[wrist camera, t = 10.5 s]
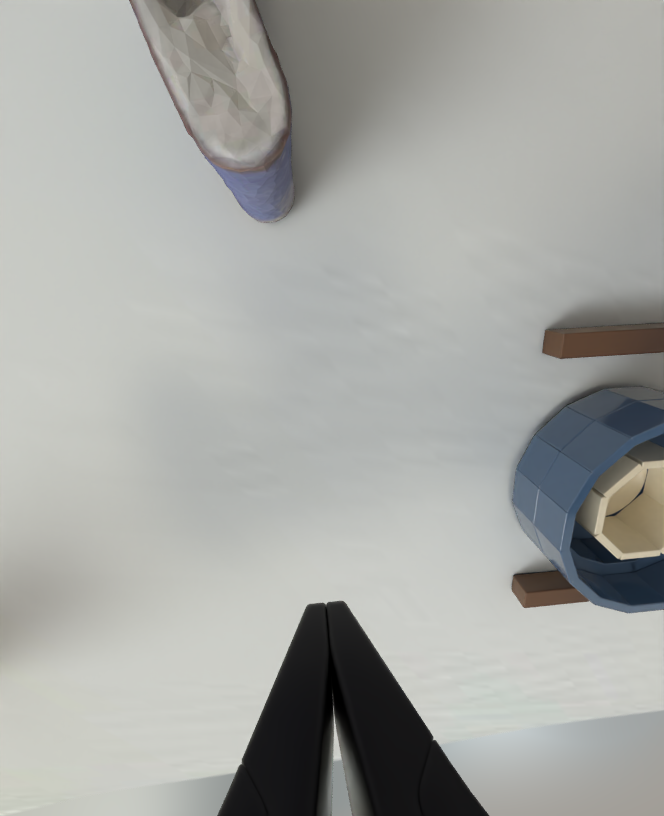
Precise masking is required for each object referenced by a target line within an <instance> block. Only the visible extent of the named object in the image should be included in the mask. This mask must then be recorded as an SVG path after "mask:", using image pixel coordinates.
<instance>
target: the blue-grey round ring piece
mask: <svg viewBox="0 0 664 816" xmlns="http://www.w3.org/2000/svg"><path fill="white" fill-rule="evenodd" d="M645 441H650V442H653V443H655V444H657V445H659V446H661V447H663V448H664V393H662V392H659V391H656V390H653V389H650V388H647V387H643V386H636V387H621V388H607V389H602V390H600V391H598V392H596V393H593V394H591V395H589V396H587V397H584V398H582V399H580V400H578V401H576V402H573V403H571V404H569V405H567V406H566V407H564V408H563V409H562V410H561V411H560V412H559V413H558V414H557V415H556V416H555V417H553V418H552V419H551V420H550V421H549V422H548V423H547V424H546V425H545V426H544V427H543V428H541V429H540V430H539V431H538V432H537V433H536V435H534V437H533V438H532V440H531V442H530V444H529V446H528V448H527V449H526V451H525V453H524V455H523V457H522V459H521V460H520V462H519V464H518V466H517V468H516V474H515V482H514V490H513V499H512V501H513V505H514V508H515V511H516V514H517V517H518V519H519V522H520V525H521V528H522V530H523V531H524V532H525V533H526V535H527V536H528V537H529V538H530V539H531V540H532V541H533V542H534V544H535V545H536V546H537V547H538V548H539V549H540V550H541V551H542V553H543V554H544V555H545V556H546V557H547V558H548V559H549V561H550V562H551V563H552V564H553V565H554V566H555V567H556V568H557V570H558V571H559V572H560V573H561V574H562V575H563V576H564V577H565V579H566V580H567V581H568V582H569V583H570V584H571V585H572V586H573V587H574V588H576V589H577V590H578V591H579V592H580V593H581V594H582V595H584V596H585V597H586V598H587V599H588V600H589V601H590V602H592V603H593V604H595V605H597V606H601V607H605V608H609V609H613V610H617V611H621V612H625V613H637V612H646V611H656V610H664V554H662V553H660V556H654V557H644V558H634V559H625V560H621V559H617V558H616V557H615V556H614V555H612V554H611V553H610V552H609V551H608V550H607V549H606V548H605V547H603V546H602V545H601V544H600V543H599V542H598V541H597V540H595V539H594V538H593V537H592V536H591V535H590V534H589V533H588V532H586V531H585V530H584V529H583V528H582V527H581V526H580V525H578V524H577V523H576V522H575V519H576V514H577V512H578V510H579V509H580V507H581V505H582V504H583V502H584V500H585V499H586V497H587V496H588V494H589V492H590V491H591V489H592V488H593V486H594V484H595V483H596V481H597V480H598V478H599V477H600V476H601V475H602V474H603V473H604V472H605V471H607V470H608V469H609V468H610V467H611V466H612V465H614V464H615V463H616V462H617V461H618V460H619V459H621V458H622V457H623V456H624V455H625V454H626V453H628V452H629V451H630V450H631V449H632V448H633V447H635V446H636V445H638V444H641V443H643V442H645ZM647 472H648V469H647ZM646 477H647V475H646ZM645 481H646V479H645ZM644 485H645V483H644ZM644 485H643V487H642V489H641V490H640V492H639V493H638V495H637V496H636V497H635V498H634V500H635V499H636V498H637V497H638V496H639V495H641V494H642V493H643V489H644ZM630 503H631V502H630ZM630 503H629V504H630ZM629 504H628V505H629ZM624 508H625V507H624ZM624 508H623V509H624ZM623 509H621V510H623ZM621 510H619V511H618V512H616V513H613V514H611V515H608V516H615V515H617V514H618V513H619V512H620V511H621ZM608 516H605V517H608Z"/></svg>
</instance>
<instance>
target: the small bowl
mask: <svg viewBox="0 0 664 816" xmlns="http://www.w3.org/2000/svg"><path fill="white" fill-rule="evenodd" d="M647 469H648V472H647ZM646 475H647V477H646ZM645 479H646V481H645ZM644 483H645V485H644ZM643 485H644V489H643V493H642V494H641V495H639V496H638V497H637V498H636V499H635V500H634V498H635V497H636V496H637V495H638V493H639V492H640V490H641V489H642V487H643ZM630 502H631V503H630ZM629 503H630V504H629ZM628 504H629V505H628ZM624 507H625V508H624ZM623 508H624V509H623ZM621 509H623V510H621ZM619 510H621V511H620V512H619V513H618V514H617V515H615V516H608V515H611V514H613V513H616V512H618V511H619ZM605 516H608V517H605ZM575 522H576V523H577V524H578V525H580V526H581V527H582V528H583V529H584V530H585V531H586V532H588V533H589V534H590V535H591V536H592V537H593V538H594V539H595V540H597V541H598V542H599V543H600V544H601V545H602V546H603V547H605V548H606V549H607V550H608V551H609V552H610V553H611V554H612V555H614V556H615V557H616V558H617V559H621V560H625V559H634V558H644V557H654V556H660V553H662V554H664V448H663V447H661V446H659V445H657V444H655V443H653V442H650V441H645V442H643V443H641V444H638V445H636V446H635V447H633V448H632V449H631V450H630V451H629V452H628V453H626V454H625V455H624V456H623V457H622V458H621V459H619V460H618V461H617V462H616V463H615V464H614V465H612V466H611V467H610V468H609V469H608V470H607V471H605V472H604V473H603V474H602V475H601V476H600V477H599V478H598V480H597V481H596V483H595V484H594V486H593V488H592V489H591V491H590V492H589V494H588V496H587V497H586V499H585V500H584V502H583V504H582V505H581V507H580V509H579V510H578V512H577V514H576V519H575Z"/></svg>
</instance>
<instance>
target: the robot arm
mask: <svg viewBox="0 0 664 816" xmlns="http://www.w3.org/2000/svg"><path fill="white" fill-rule="evenodd" d="M332 694H333V696H332ZM333 706H334V714H333ZM334 716H335V723H336V729H337V735H338V740H339V746H340V751H341V757H342V762H343V768H344V773H345V778H346V784H347V789H348V795H349V800H350V806H351V811H352V816H489V815H488V813H487V812H486V811H485V810H484V808H483V807H482V806H481V804H480V803H479V802H478V800H477V799H476V798H475V797H474V795H473V794H472V793H471V792H470V790H469V788H468V787H467V786H466V784H465V783H464V781H463V780H462V778H461V777H460V775H459V774H458V773H457V771H456V770H455V768H454V767H453V765H452V764H451V763H450V761H449V760H448V758H447V756H446V755H445V753H444V752H443V750H442V749H441V747H440V746H439V744H438V743H437V741H436V740H433V736H432V734H431V732H430V731H429V729H428V728H427V726H426V725H425V723H424V722H423V720H422V719H421V717H420V716H419V714H418V713H417V711H416V710H415V708H414V707H413V705H412V704H411V702H410V700H409V699H408V697H407V696H406V694H405V693H404V691H403V690H402V688H401V687H400V685H399V684H398V682H397V681H396V679H395V678H394V676H393V675H392V673H391V672H390V670H389V668H388V667H387V665H386V664H385V662H384V661H383V659H382V658H381V656H380V655H379V653H378V652H377V650H376V649H375V647H374V646H373V644H372V643H371V641H370V640H369V638H368V636H367V635H366V633H365V632H364V630H363V629H362V627H361V626H360V624H359V623H358V621H357V620H356V618H355V617H354V615H353V614H352V612H351V611H350V609H349V608H348V606H347V604H346V603H345V602H344V601H335V602H328V603H327V604H326V605H325V604H324V603H315V604H309V605H307V607H306V609H305V611H304V613H303V616H302V618H301V621H300V623H299V625H298V628H297V630H296V632H295V635H294V637H293V640H292V642H291V644H290V647H289V649H288V651H287V654H286V656H285V659H284V661H283V663H282V666H281V668H280V670H279V673H278V675H277V678H276V680H275V682H274V685H273V687H272V689H271V692H270V694H269V697H268V699H267V701H266V704H265V706H264V708H263V711H262V713H261V716H260V718H259V720H258V723H257V725H256V727H255V730H254V732H253V735H252V737H251V739H250V742H249V744H248V746H247V749H246V751H245V754H244V756H243V758H242V764H241V765H239V767H238V770H237V772H236V774H235V777H234V779H233V782H232V784H231V786H230V789H229V791H228V793H227V795H226V798H225V800H224V802H223V804H222V806H221V809H220V811H219V813H218V815H217V816H332V780H333V779H332V778H333V741H334Z"/></svg>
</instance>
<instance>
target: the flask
mask: <svg viewBox="0 0 664 816" xmlns="http://www.w3.org/2000/svg"><path fill="white" fill-rule="evenodd" d="M129 1H130V3H131V6H132V8H133V10H134V13H135V15H136V17H137V20H138V23H139V25H140V28H141V31H142V33H143V35H144V37H145V40H146V42H147V44H148V47H149V50H150V52H151V55H152V57H153V60H154V62H155V64H156V66H157V68H158V70H159V72H160V74H161V77H162V79H163V81H164V83H165V85H166V87H167V89H168V92H169V94H170V96H171V98H172V100H173V102H174V105H175V107H176V109H177V111H178V113H179V115H180V117H181V119H182V121H183V123H184V126H185V128H186V130H187V132H188V134H189V135H190V136H191V137H193V139H194V141H195V142H196V144H197V146H198V147H199V149H200V151H201V152H202V154H203V155H204V156H205V158H206V159H207V160H208V161H209V162H210V164H211V165H212V166H213V167H214V168H215V169H216V171H217V173H218V174H219V175H220V176H221V177H222V178H223V180H224V182H225V184H226V185H227V187H228V188H229V189H230V190H231V191H232V192H233V194H234V196H235V198H236V199H237V201H238V203H239V204H240V206H241V207H242V208H243V209H244V210H245V211H246V212H247V213H248V214H249V215H250V216H251V217H253V218H254V219H256V220H257V221H260V222H266V223H268V222H276V221H278V220H280V219H282V218H284V217H285V216H286V215H287V213H288V212H289V211H290V209H291V208H292V204H293V201H294V183H293V177H292V166H291V128H292V123H291V121H292V108H291V102H290V95H289V89H288V85H287V81H286V79H285V76H284V73H283V71H282V68H281V65H280V62H279V59H278V56H277V54H276V52H275V50H274V48H273V46H272V44H271V42H270V40H269V37H268V34H267V32H266V29H265V27H264V24H263V21H262V19H261V16H260V13H259V11H258V8H257V5H256V3H255V0H129Z"/></svg>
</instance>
